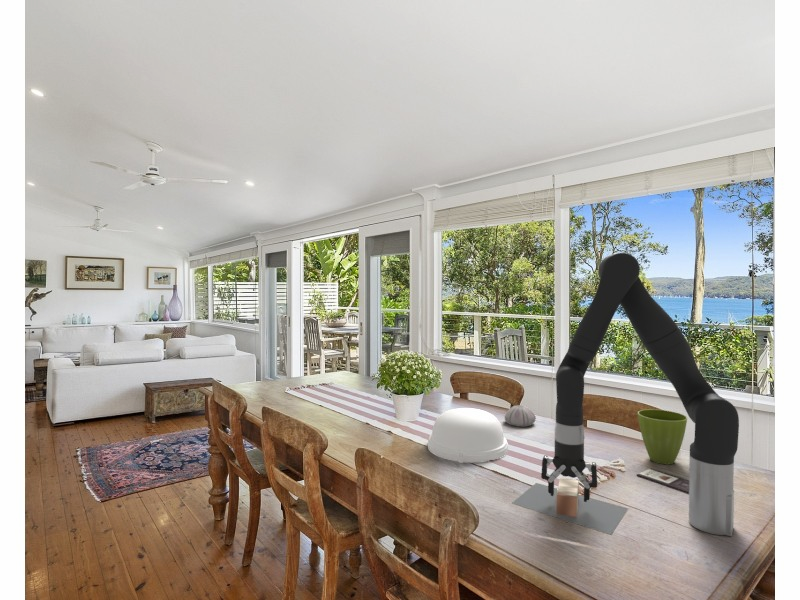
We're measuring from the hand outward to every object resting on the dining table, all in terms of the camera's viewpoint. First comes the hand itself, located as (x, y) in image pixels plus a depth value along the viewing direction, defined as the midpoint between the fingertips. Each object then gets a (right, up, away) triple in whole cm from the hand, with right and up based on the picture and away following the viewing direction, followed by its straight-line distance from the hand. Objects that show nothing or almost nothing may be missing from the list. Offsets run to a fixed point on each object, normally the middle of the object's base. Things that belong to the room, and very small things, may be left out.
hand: (568, 497), depth 126 cm
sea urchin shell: (+7, -1, +78) cm, 79 cm away
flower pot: (+45, -2, +34) cm, 57 cm away
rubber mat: (0, -3, 0) cm, 3 cm away
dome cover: (-21, -2, +48) cm, 52 cm away
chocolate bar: (+38, -3, +16) cm, 42 cm away
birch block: (+2, 0, +6) cm, 7 cm away
